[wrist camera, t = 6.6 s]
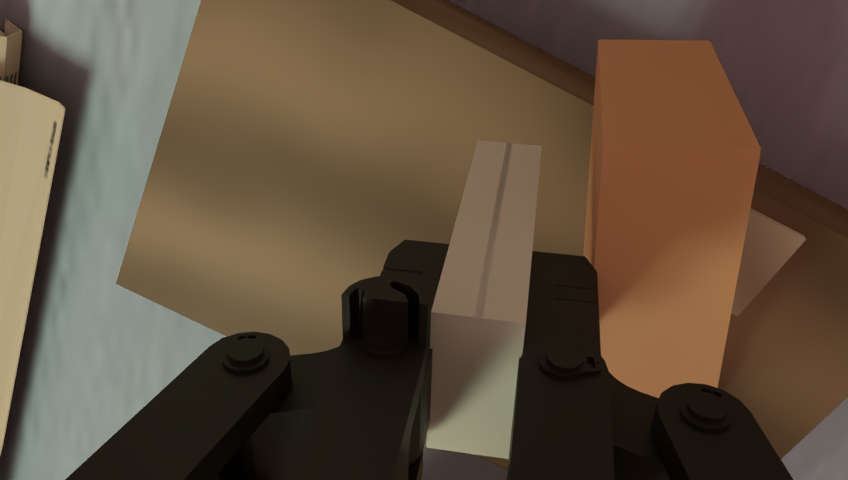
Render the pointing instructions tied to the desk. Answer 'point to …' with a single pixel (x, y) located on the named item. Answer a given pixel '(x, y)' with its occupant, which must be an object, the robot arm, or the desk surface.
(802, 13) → the desk surface
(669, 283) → the lever
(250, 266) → the plate
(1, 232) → the newspaper
